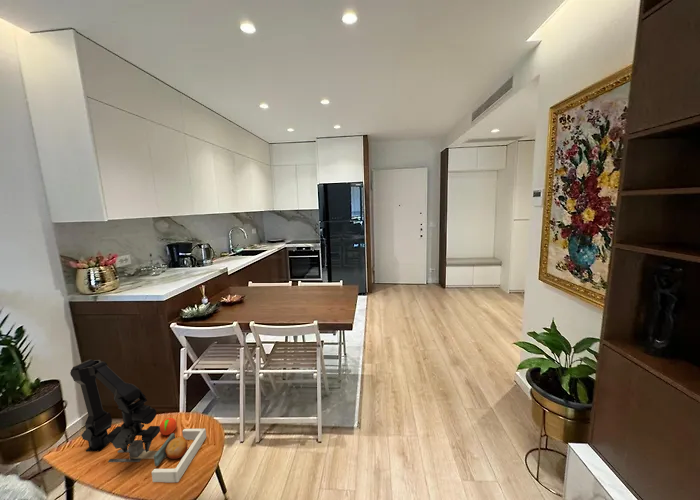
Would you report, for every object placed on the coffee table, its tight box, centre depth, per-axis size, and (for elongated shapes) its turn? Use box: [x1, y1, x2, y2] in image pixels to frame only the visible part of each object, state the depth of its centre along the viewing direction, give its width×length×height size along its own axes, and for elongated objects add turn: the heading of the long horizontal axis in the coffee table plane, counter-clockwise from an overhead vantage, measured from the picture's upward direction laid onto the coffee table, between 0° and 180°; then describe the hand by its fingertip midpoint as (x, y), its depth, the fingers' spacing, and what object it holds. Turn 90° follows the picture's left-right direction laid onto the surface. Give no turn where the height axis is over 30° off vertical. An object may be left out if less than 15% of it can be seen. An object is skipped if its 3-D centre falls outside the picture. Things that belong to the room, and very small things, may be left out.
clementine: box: [159, 417, 177, 436], centre depth 135 cm, size 8×7×7 cm
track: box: [107, 448, 150, 463], centre depth 124 cm, size 13×6×1 cm, turn 90°
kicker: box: [127, 432, 176, 467], centre depth 123 cm, size 15×12×6 cm
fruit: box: [165, 436, 188, 460], centre depth 124 cm, size 8×8×8 cm
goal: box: [151, 428, 207, 483], centre depth 122 cm, size 10×22×4 cm, turn 0°
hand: (136, 451), depth 123 cm, fingers open, 9 cm apart
